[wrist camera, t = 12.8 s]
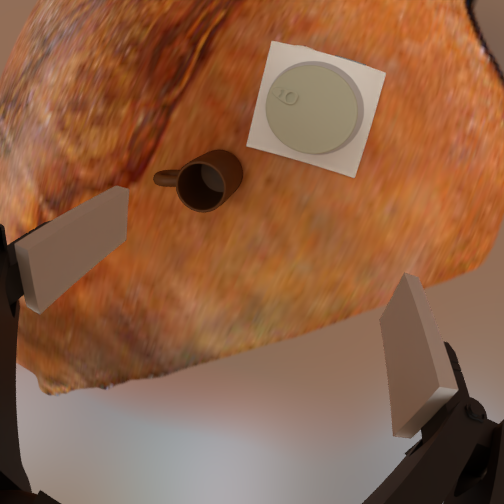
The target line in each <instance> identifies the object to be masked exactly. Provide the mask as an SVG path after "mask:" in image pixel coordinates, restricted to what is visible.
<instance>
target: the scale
mask: <svg viewBox="0 0 504 504" xmlns="http://www.w3.org/2000/svg"><path fill="white" fill-rule="evenodd" d="M304 65H315V66H321V67H325V68H327V69H330V70H332V71H334V72H336V73H337V74H339V75H340V76H341V77H342V78H343V79H344V80H345V81H346V82H347V83H348V84H349V85H350V87H351V89H352V90H353V92H354V94H355V97H356V100H357V105H358V118H357V122H356V126H355V128H354V130H353V132H352V134H351V135H350V137H349V138H348V139H347V140H346V141H345V142H344V143H343V144H342V145H341V146H339V147H337V148H336V149H334V150H332V151H329V152H326V153H321V154H306V153H302V152H298V151H295V150H293V149H291V148H289V147H288V146H286V145H285V144H283V143H282V142H281V141H280V140H279V139H278V138H277V137H276V136H275V134H274V133H273V132H272V130H271V128H270V126H269V124H268V121H267V117H266V110H265V105H266V98H267V95H268V92H269V90H270V88H271V86H272V85H273V83H274V82H275V81H276V79H277V78H278V77H279V76H281V75H282V74H283V73H285V72H286V71H288V70H290V69H292V68H295V67H299V66H304ZM385 75H386V73H385V72H382V71H379V70H376V69H374V68H371V67H368V66H366V65H365V64H362V63H359V62H356V61H353V60H350V59H347V58H343V57H340V56H337V55H335V56H333V55H329V54H326V53H322V52H318V51H315V50H314V49H312V48H309V47H306V46H301V45H296V46H294V45H290V44H285V43H280V42H276V41H272V42H271V46H270V50H269V54H268V58H267V62H266V66H265V70H264V74H263V78H262V82H261V86H260V90H259V94H258V99H257V103H256V107H255V111H254V115H253V119H252V124H251V128H250V132H249V136H248V141H247V145H246V146H247V147H251V148H255V149H259V150H263V151H266V152H270V153H274V154H277V155H281V156H284V157H288V158H291V159H295V160H298V161H302V162H305V163H308V164H312V165H315V166H318V167H321V168H325V169H328V170H331V171H334V172H337V173H340V174H343V175H346V176H349V177H352V178H355V175H356V172H357V169H358V166H359V163H360V160H361V157H362V154H363V151H364V147H365V144H366V141H367V138H368V134H369V131H370V128H371V125H372V121H373V118H374V114H375V111H376V107H377V104H378V100H379V97H380V93H381V90H382V86H383V82H384V79H385Z"/></svg>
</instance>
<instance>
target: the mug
mask: <svg viewBox="0 0 504 504" xmlns="http://www.w3.org/2000/svg"><path fill="white" fill-rule="evenodd" d="M153 180H154V182H155V184H157V185H159V186H165V187H176V190H177V194H178V196H179V198H180V200H181V201H182V202H183V203H184V205H186V206H187V207H188V208H190V209H191V210H194V211H197V212H210V211H213V210H215V209H216V208H218V207H219V206H221V205H222V204H223V203H224V202H225V201H226V200H227V199H228V198H229V197H230V196H231V195H232V194H233V193H234V192H235V191H236V189H237V188H238V187H239V185H240V183H241V180H242V167H241V164H240V162H239V161H238V159H237V158H236V157H235V156H234V155H232V154H231V153H229V152H227V151H223V150H215V151H211V152H208V153H206V154H204V155H202V156H199V157H197V158H195V159H193V160H192V161H190V162H189V163H187V164H186V165H185V166H184V167H183V168H182V169H181V170H163V171H160V172H157V173H156V174H155V175H154V178H153Z"/></svg>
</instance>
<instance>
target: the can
mask: <svg viewBox="0 0 504 504" xmlns="http://www.w3.org/2000/svg"><path fill="white" fill-rule="evenodd" d="M265 110H266V117H267V121H268V124H269V126H270V128H271V130H272V132H273V133H274V134H275V136H276V137H277V138H278V139H279V140H280V141H281V142H282V143H283V144H285V145H286V146H288V147H289V148H291V149H293V150H295V151H298V152H302V153H306V154H321V153H326V152H329V151H332V150H334V149H336V148H337V147H339V146H341V145H342V144H343V143H344V142H345V141H346V140H347V139H348V138H349V137H350V135H351V134H352V132H353V130H354V128H355V126H356V122H357V118H358V105H357V100H356V97H355V94H354V92H353V90H352V89H351V87H350V85H349V84H348V83H347V82H346V81H345V80H344V79H343V78H342V77H341V76H340V75H339V74H337V73H336V72H334V71H332V70H330V69H327V68H325V67H321V66H315V65H304V66H299V67H295V68H292V69H290V70H288V71H286V72H285V73H283V74H282V75H281V76H279V77H278V78H277V79H276V81H275V82H274V83H273V85H272V86H271V88H270V90H269V92H268V95H267V98H266V105H265Z"/></svg>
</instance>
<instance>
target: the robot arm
mask: <svg viewBox="0 0 504 504" xmlns="http://www.w3.org/2000/svg"><path fill="white" fill-rule="evenodd" d="M128 198H129V189H127V188H123V187H119V186H115V187H113V188H111V189H109V190H107V191H105V192H103V193H101V194H99V195H97V196H95V197H93V198H92V199H90V200H88V201H86V202H84V203H82V204H80V205H79V206H77V207H75V208H73V209H71V210H70V211H68V212H66V213H64V214H63V215H61V216H59V217H57V218H56V219H54V220H51V221H48V222H45V223H43V224H41V225H39V226H38V227H36V228H35V229H33V230H31V231H29V233H26V234H25V235H23V236H21V237H20V238H18V239H17V240H15V241H13V242H12V243H10V244H9V245H7V241H6V235H5V228H4V226H3V225H2V224H0V504H61V503H59V502H57V501H56V500H54V499H53V498H51V497H50V496H48V495H47V494H45V493H44V492H42V491H39V493H38V495H37V494H34V493H32V491H31V487H30V483H29V480H28V477H27V475H26V473H25V470H24V468H23V466H22V462H21V456H20V448H19V438H18V427H17V411H16V348H17V332H18V320H19V310H20V305H19V300H18V299H19V298H20V297H21V296H23V295H24V297H25V301H26V305H27V307H28V308H30V309H31V310H33V311H35V312H37V313H38V314H41V313H42V312H43V311H44V310H45V309H46V308H48V307H49V306H50V305H51V304H52V303H53V302H54V301H55V300H56V299H57V298H59V297H60V296H61V295H62V294H63V293H64V292H65V291H66V290H67V289H69V288H70V287H71V286H72V285H73V284H74V283H75V282H77V281H78V280H79V279H80V278H81V277H82V276H83V275H85V274H86V273H87V272H88V271H89V270H90V269H92V268H93V267H94V266H95V265H96V264H98V263H99V262H100V261H101V260H102V259H104V258H105V257H106V256H107V255H108V254H110V253H111V252H112V251H113V250H114V249H116V248H117V247H118V246H119V245H121V244H122V243H123V242H124V241H126V233H127V213H128ZM380 326H381V333H382V338H383V346H384V353H385V360H386V367H387V376H388V385H389V394H390V404H391V416H392V429H393V436H395V437H403V438H412V437H413V436H414V435H415V434H416V433H417V432H418V431H419V430H421V433H422V439H421V440H419V442H417V443H416V444H415V445H414V446H413V447H412V448H410V449H409V450H408V451H407V452H406V453H405V454H406V457H405V458H404V459H403V460H402V461H401V463H400V464H399V465H398V466H397V467H396V468H395V469H394V471H393V472H392V473H391V474H390V475H389V476H388V477H387V478H386V479H385V480H384V482H383V483H382V484H381V485H380V486H379V487H378V488H377V489H376V490H375V491H374V492H373V493H372V494H371V495H370V496H369V497H368V498H367V499H366V500H365V501H364V502H363V503H362V504H442V503H443V504H504V420H503V421H502V422H501V423H500V424H497V423H495V422H493V421H491V420H489V419H487V415H486V411H485V409H484V407H483V406H482V405H481V404H480V403H479V402H478V401H477V400H475V399H474V398H471V397H469V394H468V390H467V387H466V383H465V380H464V377H463V374H462V372H461V368H460V365H459V364H458V359H457V357H456V354H455V352H454V350H453V349H452V347H451V346H450V345H449V343H447V342H444V341H443V339H442V337H441V334H440V331H439V328H438V325H437V323H436V320H435V317H434V315H433V312H432V309H431V307H430V304H429V302H428V299H427V297H426V294H425V292H424V289H423V287H422V285H421V282H420V280H419V277H416V276H413V275H410V274H407V273H404V274H403V276H402V278H401V280H400V282H399V284H398V286H397V288H396V290H395V292H394V294H393V296H392V298H391V299H390V301H389V303H388V305H387V307H386V309H385V311H384V312H383V314H382V316H381V318H380Z"/></svg>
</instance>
